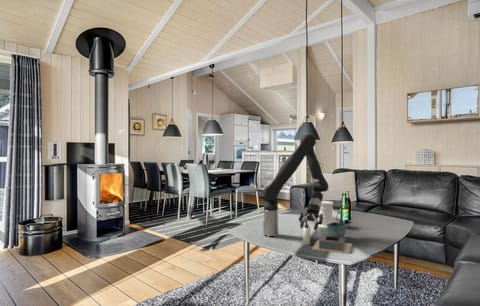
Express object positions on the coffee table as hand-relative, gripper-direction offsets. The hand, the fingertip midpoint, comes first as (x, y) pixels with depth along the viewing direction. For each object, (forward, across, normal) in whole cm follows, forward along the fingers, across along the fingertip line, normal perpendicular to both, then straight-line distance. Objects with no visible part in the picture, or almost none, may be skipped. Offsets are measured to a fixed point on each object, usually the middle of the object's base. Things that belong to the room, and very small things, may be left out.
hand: (308, 228), depth 181 cm
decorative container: (-26, -4, +39) cm, 47 cm away
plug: (+8, 0, +5) cm, 9 cm away
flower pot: (-7, +11, +20) cm, 24 cm away
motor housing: (+7, +15, +6) cm, 17 cm away
